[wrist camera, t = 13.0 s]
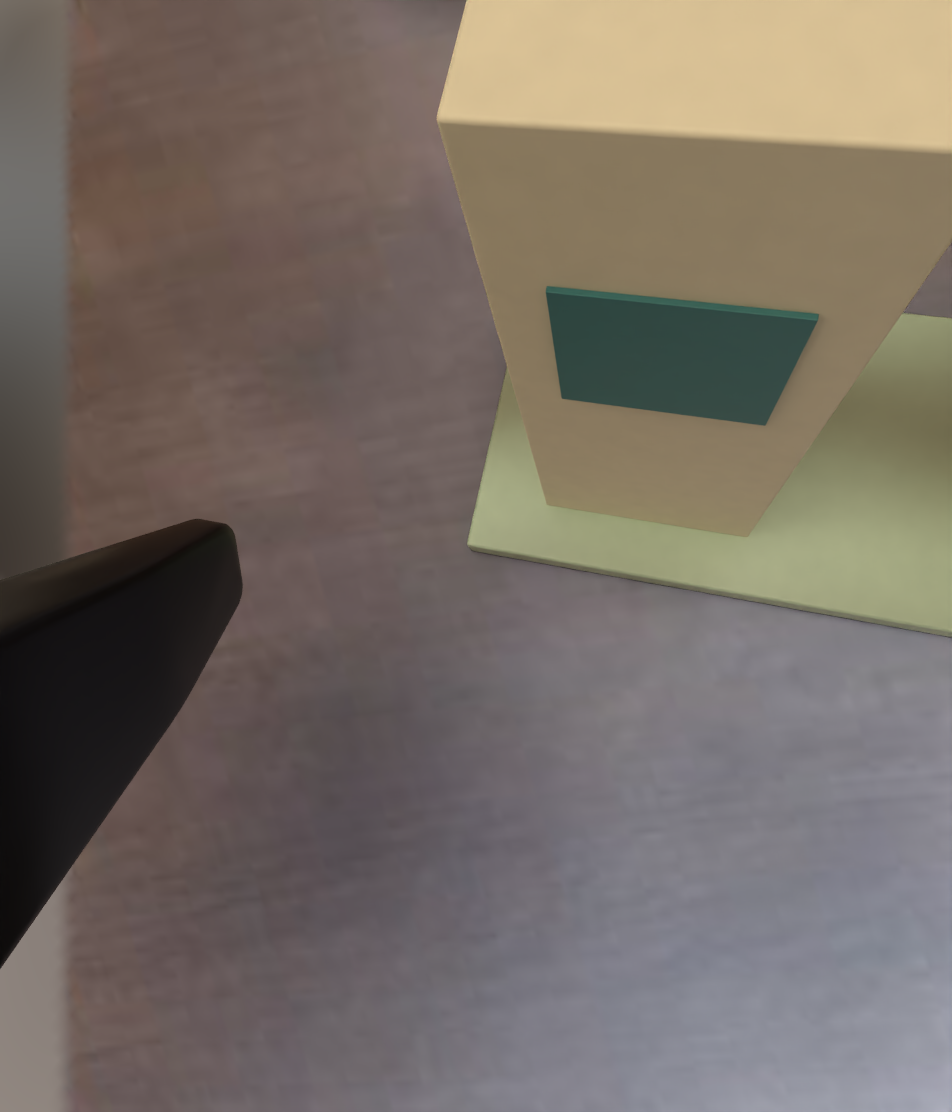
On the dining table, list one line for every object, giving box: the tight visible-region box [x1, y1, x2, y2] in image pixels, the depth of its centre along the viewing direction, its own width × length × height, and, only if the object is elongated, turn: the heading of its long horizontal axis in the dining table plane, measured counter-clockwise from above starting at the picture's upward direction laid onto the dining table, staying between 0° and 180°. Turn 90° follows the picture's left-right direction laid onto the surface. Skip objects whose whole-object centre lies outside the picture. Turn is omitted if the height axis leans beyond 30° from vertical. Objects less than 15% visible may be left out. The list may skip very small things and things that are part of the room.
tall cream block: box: [437, 0, 952, 537], centre depth 12 cm, size 5×5×12 cm
